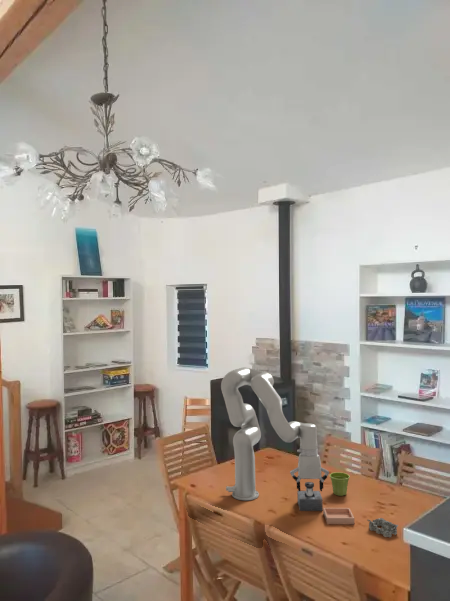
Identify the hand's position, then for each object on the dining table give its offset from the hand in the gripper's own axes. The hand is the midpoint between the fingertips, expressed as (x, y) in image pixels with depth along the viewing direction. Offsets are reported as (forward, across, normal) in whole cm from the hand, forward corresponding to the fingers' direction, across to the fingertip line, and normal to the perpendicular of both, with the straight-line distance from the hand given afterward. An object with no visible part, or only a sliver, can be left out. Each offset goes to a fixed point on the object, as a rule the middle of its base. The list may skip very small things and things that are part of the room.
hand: (310, 490), depth 223 cm
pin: (+7, 0, 0) cm, 7 cm away
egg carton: (+8, +26, -24) cm, 36 cm away
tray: (+7, +10, -13) cm, 18 cm away
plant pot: (+7, +16, +15) cm, 23 cm away
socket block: (+7, 0, 0) cm, 7 cm away
